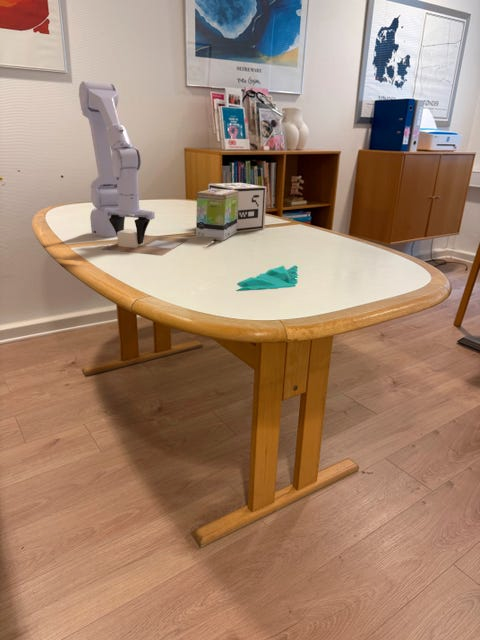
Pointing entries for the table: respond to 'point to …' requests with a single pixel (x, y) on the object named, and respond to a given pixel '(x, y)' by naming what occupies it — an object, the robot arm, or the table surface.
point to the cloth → (271, 279)
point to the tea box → (217, 213)
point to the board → (151, 245)
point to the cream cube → (128, 238)
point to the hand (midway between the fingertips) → (131, 242)
